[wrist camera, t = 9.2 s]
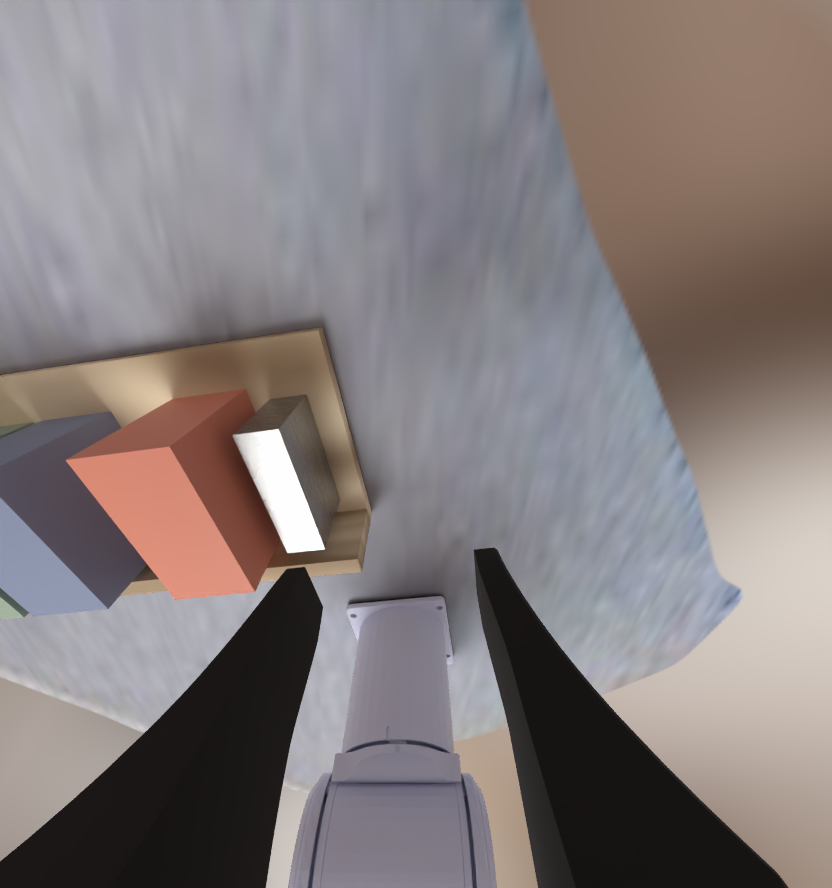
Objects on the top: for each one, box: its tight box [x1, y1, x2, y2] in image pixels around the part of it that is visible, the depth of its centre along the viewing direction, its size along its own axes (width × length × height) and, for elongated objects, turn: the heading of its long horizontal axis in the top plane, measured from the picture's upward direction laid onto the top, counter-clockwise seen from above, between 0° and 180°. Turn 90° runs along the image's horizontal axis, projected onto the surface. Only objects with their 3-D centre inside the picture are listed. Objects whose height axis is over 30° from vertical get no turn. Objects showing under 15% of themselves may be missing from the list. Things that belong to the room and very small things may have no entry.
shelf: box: [0, 327, 372, 596], centre depth 17 cm, size 12×22×7 cm, turn 98°
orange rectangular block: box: [66, 389, 281, 600], centre depth 16 cm, size 8×4×6 cm, turn 8°
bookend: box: [232, 394, 340, 553], centre depth 17 cm, size 7×2×4 cm, turn 8°
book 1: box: [0, 411, 147, 616], centre depth 17 cm, size 8×4×6 cm, turn 8°
